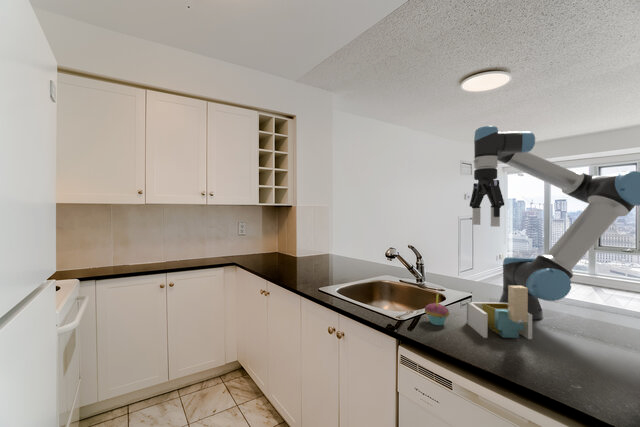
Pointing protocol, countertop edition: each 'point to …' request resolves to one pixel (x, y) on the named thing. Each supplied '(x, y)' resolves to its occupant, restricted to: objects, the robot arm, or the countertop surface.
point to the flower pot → (492, 313)
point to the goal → (480, 320)
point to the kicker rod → (513, 312)
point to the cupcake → (436, 312)
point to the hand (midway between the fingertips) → (485, 225)
